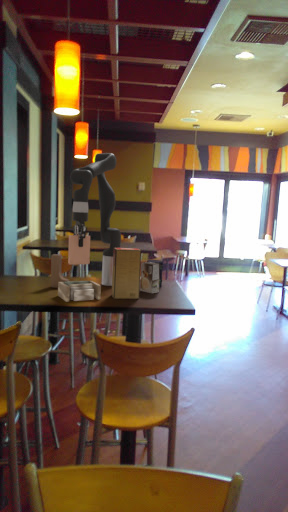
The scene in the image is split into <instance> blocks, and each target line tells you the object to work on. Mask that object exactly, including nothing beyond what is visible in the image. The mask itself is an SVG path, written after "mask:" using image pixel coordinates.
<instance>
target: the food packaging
mask: <svg viewBox="0 0 288 512" xmlns="http://www.w3.org/2000/svg"><path fill="white" fill-rule="evenodd" d="M141 260H142V250H141V249H140V248H138V247H137V248H135V247H134V248H133V247H130V248H129V247H120V248H114V251H113V274H112V286H111V296H112V299H114V300H121V299H122V300H128V299H129V300H139V299H140V285H141V263H142V261H141Z"/></svg>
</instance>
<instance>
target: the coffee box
mask: <svg viewBox="0 0 288 512" xmlns="http://www.w3.org/2000/svg"><path fill="white" fill-rule="evenodd" d="M159 277H160V264H158V263H152V262H147V261H144V262H141V266H140V286H139V292H143V293H148V294H157V293H159V291H160V287H159Z"/></svg>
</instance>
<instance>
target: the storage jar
mask: <svg viewBox="0 0 288 512" xmlns="http://www.w3.org/2000/svg"><path fill="white" fill-rule="evenodd" d="M146 262H152V263H158V264H160V277H159V288H162V286H163V285H162V283H163V270H164V261H163V260H159V259H147V260H146Z"/></svg>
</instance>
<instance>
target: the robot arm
mask: <svg viewBox="0 0 288 512" xmlns="http://www.w3.org/2000/svg"><path fill="white" fill-rule="evenodd" d="M116 166H117V158H116V156H115V154H114V153H112V152H103V153H102V152H101V153H96V154H95V156H94V162H91V163H89V164H87V165H85V166H83V167H79V168H75V169H73V170H71V171H72V172H71V173H70V177H69V178H70V181H71V183H73V184H74V185H79V186H81V188H79V189H75V190H74V191H73V204H72V219H71V220H72V221H74V222H75V224H74V225H73V226H72V227H73V235H78V238H79V242H78V246H79V247H83V239H84V238H85V237H86V235H87V231H88V227H87V226H86V224H85V223H86V222H89V192H90V190H91V186H92V183H93V179H95V178H96V180H97V188H98V189H97V190H98V191H97V192H98V205H99V214H100V240H101V242H102V243H103V244H108V245H109V247H108V248H107V249H104V250H103V251H102V263H101V264H102V268H101V286H105V287H106V286H107V287H112V274H113V251H114V248H121V243H122V242H121V241H122V233H121V230H120V229H118V228H115V227H114V228H113V227H111V225H110V223H111V217H112V215H113V213H114V211H115V208H116V206H117V205H116V193H115V191H114V189H113V188H112V186H111V185H110V183H109V181H107V178H106V175H105V172H109V171H113V170H115V168H116Z"/></svg>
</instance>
